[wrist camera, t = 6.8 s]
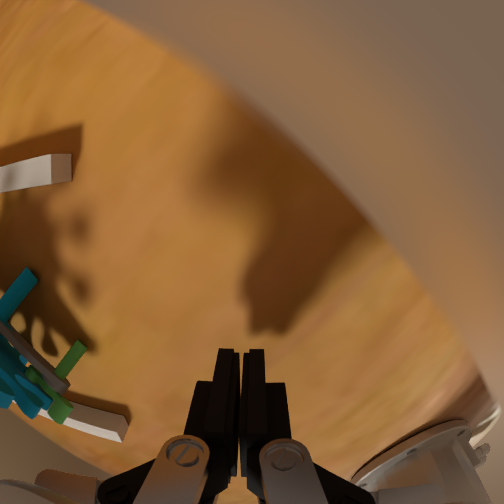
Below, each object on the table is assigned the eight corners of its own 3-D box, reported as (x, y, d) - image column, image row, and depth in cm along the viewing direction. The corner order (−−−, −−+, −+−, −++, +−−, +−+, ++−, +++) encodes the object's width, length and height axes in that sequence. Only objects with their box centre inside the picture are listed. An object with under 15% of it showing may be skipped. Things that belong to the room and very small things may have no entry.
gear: (-48, 284, 10) (-116, 276, 2) (-1, 225, 13) (-42, 168, 5) (55, 396, 14) (63, 475, 6) (99, 338, 17) (134, 378, 9)
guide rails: (71, 153, 10) (51, 153, 8) (128, 426, 14) (122, 442, 13) (-45, 185, 10) (-60, 188, 8) (11, 386, 14) (3, 396, 13)
